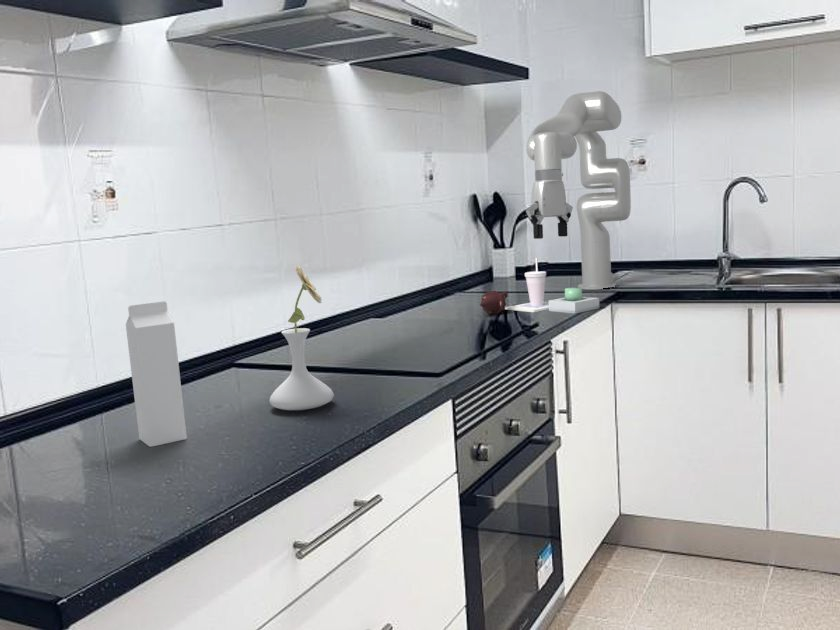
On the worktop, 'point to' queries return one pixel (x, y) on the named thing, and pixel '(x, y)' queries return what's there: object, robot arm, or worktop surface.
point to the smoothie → (536, 286)
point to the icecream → (493, 302)
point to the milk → (155, 374)
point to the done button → (573, 294)
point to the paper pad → (529, 307)
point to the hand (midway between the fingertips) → (550, 237)
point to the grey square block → (574, 305)
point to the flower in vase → (300, 366)
